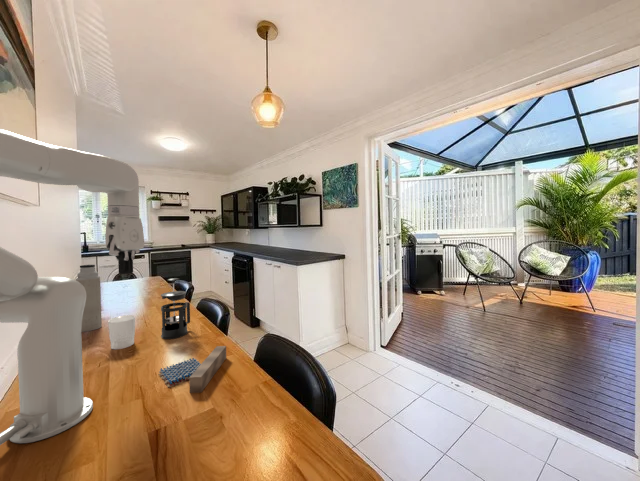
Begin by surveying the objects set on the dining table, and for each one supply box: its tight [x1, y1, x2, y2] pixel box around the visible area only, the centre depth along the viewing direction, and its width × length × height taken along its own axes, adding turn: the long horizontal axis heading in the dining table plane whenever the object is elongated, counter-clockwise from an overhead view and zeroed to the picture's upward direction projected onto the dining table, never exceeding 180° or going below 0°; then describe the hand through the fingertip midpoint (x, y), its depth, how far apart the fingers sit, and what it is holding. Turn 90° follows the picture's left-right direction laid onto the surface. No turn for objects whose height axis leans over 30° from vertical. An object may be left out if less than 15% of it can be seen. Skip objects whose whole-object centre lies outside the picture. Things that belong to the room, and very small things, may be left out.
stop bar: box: [188, 345, 227, 394], centre depth 74 cm, size 18×3×4 cm, turn 1°
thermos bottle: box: [74, 264, 103, 333], centre depth 110 cm, size 8×8×28 cm
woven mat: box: [158, 357, 202, 388], centre depth 74 cm, size 10×11×2 cm
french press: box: [160, 277, 191, 340], centre depth 103 cm, size 12×9×23 cm
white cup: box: [107, 314, 136, 350], centre depth 93 cm, size 8×8×10 cm
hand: (126, 273), depth 77 cm, fingers closed
